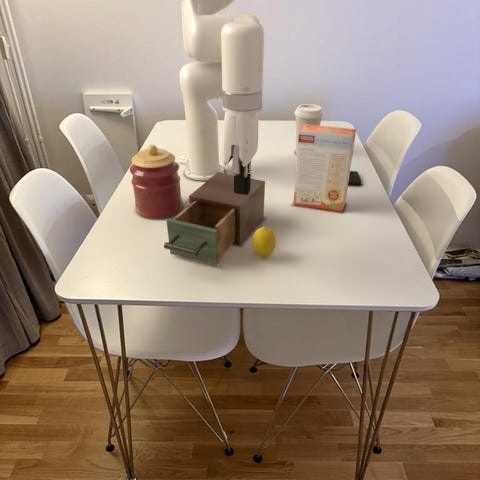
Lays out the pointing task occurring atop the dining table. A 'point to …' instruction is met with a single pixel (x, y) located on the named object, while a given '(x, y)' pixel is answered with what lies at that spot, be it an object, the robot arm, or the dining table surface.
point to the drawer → (202, 232)
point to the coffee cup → (307, 117)
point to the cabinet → (234, 201)
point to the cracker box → (323, 166)
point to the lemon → (264, 241)
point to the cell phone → (354, 178)
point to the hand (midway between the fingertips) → (242, 192)
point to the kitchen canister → (156, 183)
